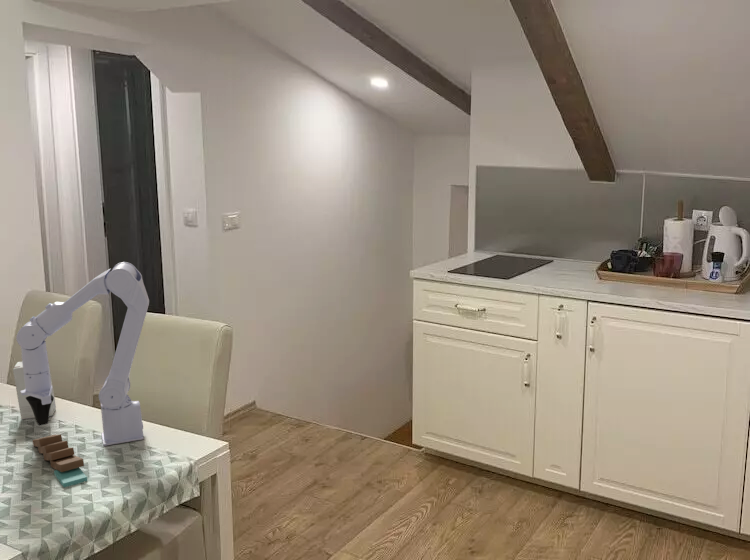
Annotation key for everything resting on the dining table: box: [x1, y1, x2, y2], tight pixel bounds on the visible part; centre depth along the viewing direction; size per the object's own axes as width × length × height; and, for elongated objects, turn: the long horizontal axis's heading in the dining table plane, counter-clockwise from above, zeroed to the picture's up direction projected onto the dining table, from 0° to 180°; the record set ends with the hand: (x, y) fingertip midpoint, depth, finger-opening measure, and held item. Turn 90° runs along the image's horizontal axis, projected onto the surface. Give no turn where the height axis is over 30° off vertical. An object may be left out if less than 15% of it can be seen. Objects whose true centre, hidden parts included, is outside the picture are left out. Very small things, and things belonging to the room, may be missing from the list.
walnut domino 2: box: [37, 440, 70, 454], centre depth 182 cm, size 2×5×8 cm
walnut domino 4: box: [49, 454, 85, 472], centre depth 175 cm, size 2×5×8 cm
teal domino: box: [53, 467, 88, 488], centre depth 171 cm, size 2×5×8 cm
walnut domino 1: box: [32, 434, 63, 448], centre depth 186 cm, size 2×5×8 cm
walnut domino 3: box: [42, 447, 75, 461], centre depth 179 cm, size 2×5×8 cm
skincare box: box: [12, 360, 57, 420], centre depth 207 cm, size 8×6×15 cm
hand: (42, 423), depth 188 cm, fingers closed
